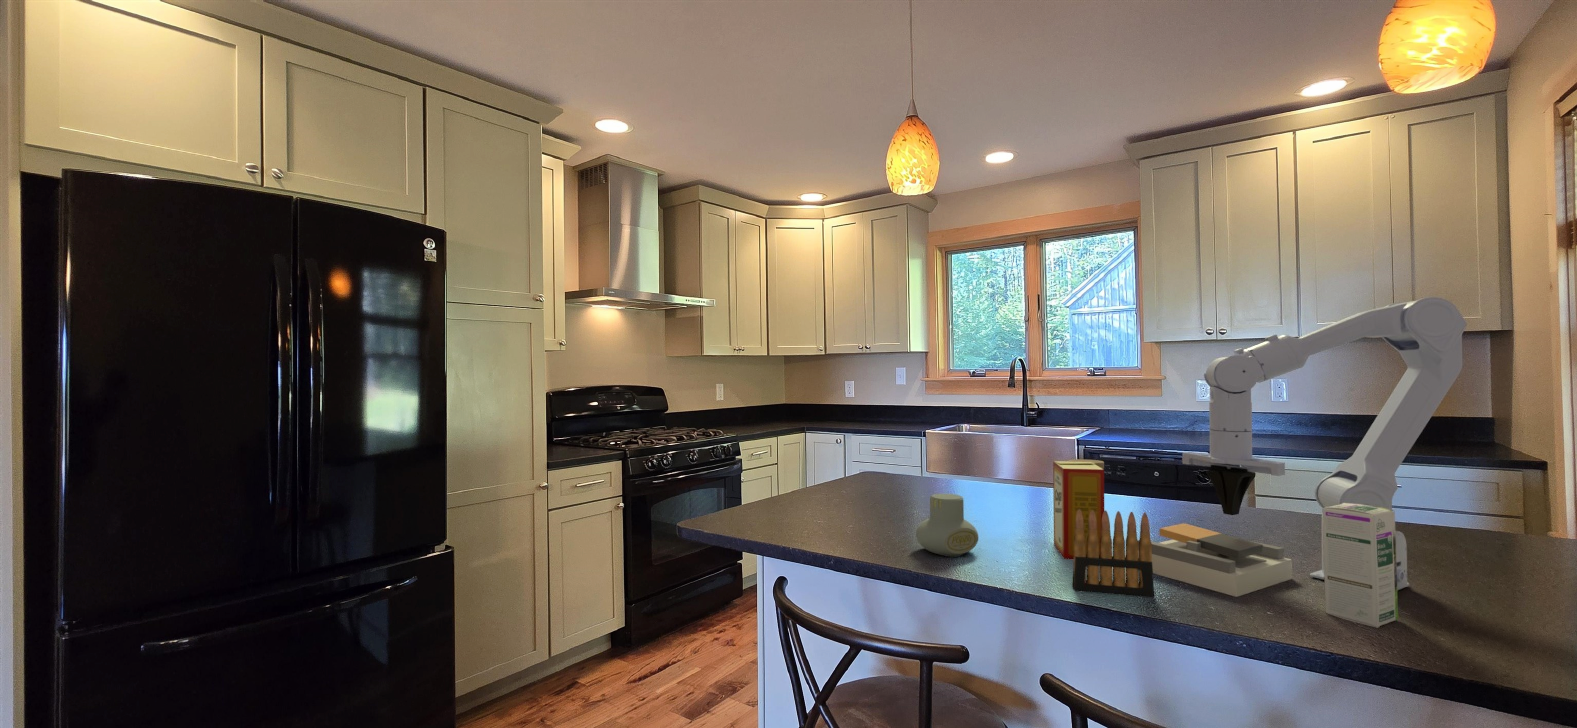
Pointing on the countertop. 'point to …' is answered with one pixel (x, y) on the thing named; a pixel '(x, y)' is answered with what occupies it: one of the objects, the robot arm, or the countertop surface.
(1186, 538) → the breaker rocker
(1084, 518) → the baking soda box
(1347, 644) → the countertop surface
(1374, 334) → the robot arm
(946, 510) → the air freshener
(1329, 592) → the syrup box
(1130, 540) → the ammunition clip
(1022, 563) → the countertop surface
